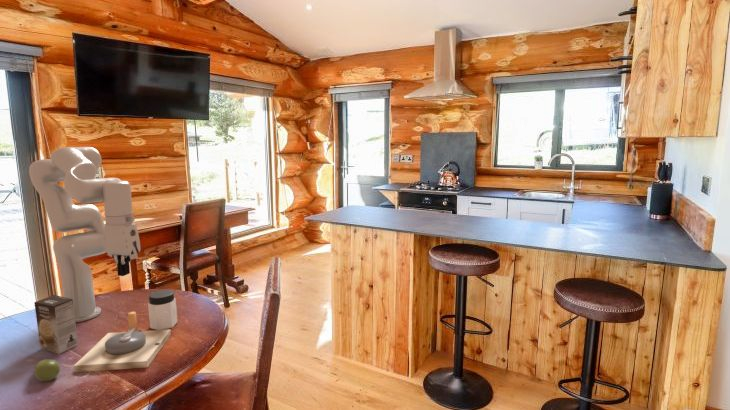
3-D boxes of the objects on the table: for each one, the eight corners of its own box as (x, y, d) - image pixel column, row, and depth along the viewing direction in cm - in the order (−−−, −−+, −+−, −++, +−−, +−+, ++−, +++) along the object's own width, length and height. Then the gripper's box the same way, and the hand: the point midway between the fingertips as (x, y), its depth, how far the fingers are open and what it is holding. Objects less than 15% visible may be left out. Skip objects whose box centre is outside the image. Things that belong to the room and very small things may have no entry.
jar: (151, 333, 140) (148, 300, 138) (148, 324, 147) (145, 292, 145) (179, 326, 145) (176, 294, 143) (175, 318, 152) (173, 287, 150)
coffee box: (39, 349, 130) (32, 302, 127) (60, 340, 136) (53, 294, 133) (59, 354, 127) (52, 305, 124) (79, 344, 133) (73, 298, 130)
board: (74, 372, 117) (73, 364, 117) (108, 338, 137) (108, 332, 136) (147, 367, 119) (146, 360, 119) (171, 334, 139) (170, 328, 139)
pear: (35, 368, 109) (28, 360, 116) (39, 386, 110) (31, 378, 116) (60, 359, 113) (52, 352, 120) (64, 377, 114) (55, 370, 120)
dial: (140, 352, 124) (138, 329, 123) (99, 356, 121) (97, 334, 120) (152, 330, 138) (150, 309, 137) (116, 333, 135) (114, 313, 134)
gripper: (148, 219, 130) (152, 273, 134) (110, 215, 134) (114, 268, 137) (129, 224, 123) (134, 281, 127) (89, 220, 127) (95, 275, 130)
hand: (124, 274), depth 132 cm, fingers closed
